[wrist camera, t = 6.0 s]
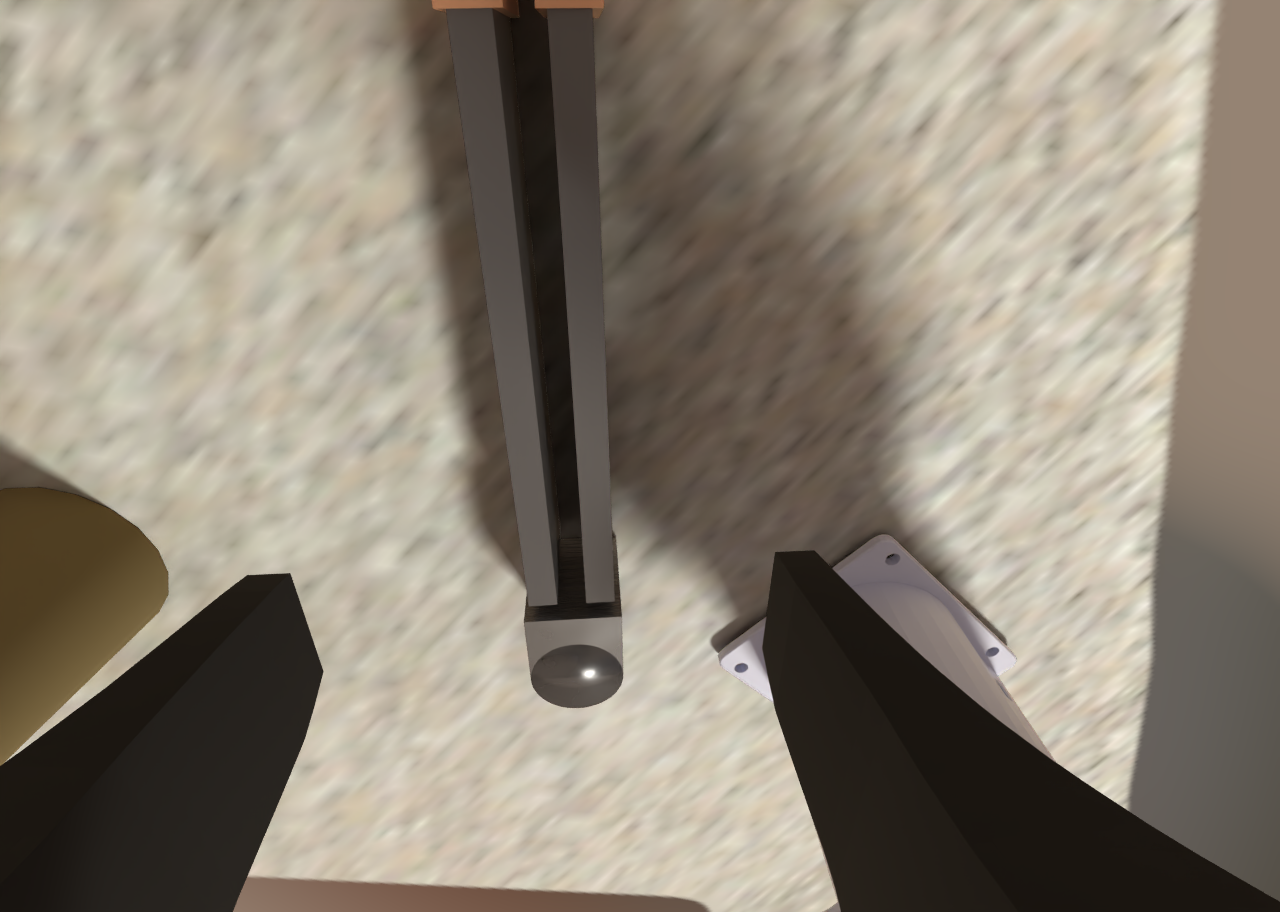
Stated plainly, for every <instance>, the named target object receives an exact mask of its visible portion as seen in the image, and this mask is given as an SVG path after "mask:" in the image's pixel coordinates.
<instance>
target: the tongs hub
mask: <svg viewBox="0 0 1280 912" xmlns="http://www.w3.org/2000/svg"><path fill="white" fill-rule="evenodd" d="M612 544H613V570H614V597H615V601H613V602H597V603H586V590H585V575H584V560H583V545H582V538H564V539H560V555H559V579H558V604H557V605H543V606H529V604H528V596H526V606H525V616H524V627H525V635H526V643H527V651H528V659H529V667H530V675H531V682H532V685H533V688H534V689H535V691H536V692H537V693H538V695H539V696H541V697H542V698H543V699H545V700H546V701H548V702H550V703H552V704H555V705H558V706H561V707H567V708H583V707H589V706H593V705H596V704H599V703H601V702H603V701H605V700H607V699H609V698H610V697H611V696H612V695H614V694H615V693H616V692H617V690H618V689H619V687H620V686H621V683H622V680H623V643H622V612H621V598H620V585H619V572H618V558H617V545H616V536H612Z"/></svg>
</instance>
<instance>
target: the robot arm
mask: <svg viewBox="0 0 1280 912" xmlns="http://www.w3.org/2000/svg"><path fill="white" fill-rule="evenodd" d="M891 554H894V555H893V556H892V557H890V558H887V557H888V556H889V555H891ZM718 658H719V663H720V666H721V667H722V668H723V669H725V670H726V671H728V672H729V673H731V674H732V675H733V676H735V677H736V678H738V679H739V680H741V681H742V682H744V683H745V684H747V685H748V686H750V687H751V688H753V689H754V690H755V691H757V692H758V693H760V694H761V695H763V696H764V697H766V698H767V699H769V700H770V701H772V702H773V703H774V706H775V711H776V714H777V717H778V720H779V723H780V726H781V729H782V732H783V735H784V738H785V741H786V743H787V746H788V749H789V752H790V755H791V758H792V761H793V764H794V767H795V770H796V773H797V776H798V779H799V781H800V784H801V787H802V790H803V793H804V796H805V799H806V802H807V805H808V807H809V810H810V813H811V816H812V819H813V822H814V825H815V829H816V832H817V835H818V838H819V842H820V845H821V848H822V852H823V855H824V858H825V861H826V865H827V868H828V871H829V874H830V878H831V881H832V884H833V888H834V891H835V894H836V897H837V901H838V902H837V903H836V904H835V905H833V906H832V907H831V908H829V909H827V910H825V911H823V912H1280V902H1279V901H1278V900H1276V899H1274V898H1272V897H1270V896H1269V895H1267V894H1265V893H1264V892H1262V891H1260V890H1258V889H1257V888H1255V887H1253V886H1251V885H1250V884H1248V883H1246V882H1244V881H1243V880H1241V879H1239V878H1237V877H1236V876H1234V875H1232V874H1231V873H1229V872H1227V871H1226V870H1224V869H1222V868H1220V867H1219V866H1217V865H1215V864H1214V863H1212V862H1210V861H1208V860H1207V859H1205V858H1203V857H1201V856H1200V855H1198V854H1196V853H1195V852H1193V851H1191V850H1190V849H1188V848H1186V847H1184V846H1183V845H1182V844H1180V843H1178V842H1177V841H1175V840H1173V839H1172V838H1170V837H1169V836H1167V835H1165V834H1164V833H1162V832H1160V831H1159V830H1157V829H1155V828H1154V827H1152V826H1151V825H1149V824H1147V823H1146V822H1144V821H1143V820H1141V819H1140V818H1138V817H1137V816H1135V815H1133V814H1132V813H1131V812H1129V811H1127V810H1126V809H1124V808H1123V807H1121V806H1120V805H1118V804H1117V803H1115V802H1114V801H1112V800H1111V799H1109V798H1108V797H1106V796H1105V795H1103V794H1102V793H1100V792H1098V791H1097V790H1095V789H1094V788H1092V787H1091V786H1089V785H1088V784H1086V783H1085V782H1083V781H1082V780H1080V779H1079V778H1078V777H1076V776H1075V775H1073V774H1072V773H1070V772H1069V771H1067V770H1066V769H1065V768H1063V767H1062V766H1060V765H1059V764H1057V763H1056V762H1055V760H1054V759H1053V757H1052V756H1051V754H1050V753H1049V751H1048V750H1047V748H1046V747H1045V745H1044V744H1043V742H1042V741H1041V739H1040V738H1039V736H1038V735H1037V733H1036V732H1035V730H1034V729H1033V727H1032V726H1031V724H1030V723H1029V722H1028V720H1027V719H1026V717H1025V716H1024V714H1023V713H1022V711H1021V710H1020V708H1019V707H1018V705H1017V704H1016V702H1015V701H1014V699H1013V698H1012V696H1011V695H1010V693H1009V692H1008V690H1007V689H1006V687H1005V686H1004V684H1003V683H1002V681H1001V680H1000V679H999V677H998V676H999V675H1001V674H1003V673H1004V672H1006V671H1007V670H1009V669H1011V668H1012V667H1013V666H1014V665H1015V663H1016V660H1017V658H1016V656H1015V655H1014V653H1013V652H1012V651H1011V650H1010V649H1009V648H1008V647H1007V646H1006V645H1005V644H1004V643H1003V642H1002V641H1001V640H1000V639H999V638H998V637H997V636H996V635H995V634H994V633H993V632H992V631H991V630H989V629H988V628H987V627H986V626H985V625H984V624H983V623H982V622H981V621H980V620H979V619H978V618H977V617H976V616H975V615H974V614H973V613H972V612H971V611H970V610H968V609H967V608H966V607H965V606H964V605H963V604H962V603H961V602H960V601H959V600H958V599H957V598H956V597H955V596H954V595H953V594H952V593H951V592H950V591H949V590H947V589H946V588H945V587H944V586H943V585H942V584H941V583H940V582H939V581H938V580H937V579H936V578H935V577H934V576H933V575H932V574H931V573H930V572H929V571H928V570H927V569H925V568H924V567H923V566H922V565H921V564H920V563H919V562H918V561H917V560H916V559H915V558H914V557H913V556H912V555H911V554H910V553H909V552H908V551H907V550H906V549H904V548H903V547H902V546H901V545H900V544H899V543H898V542H897V541H896V540H895V539H894V538H893V537H891V536H890V535H885V534H882V535H878V536H876V537H874V538H872V539H871V540H869V541H868V542H867V543H865V544H864V545H863V546H861V547H860V548H859V549H857V550H856V551H855V552H853V553H852V554H850V555H849V556H848V557H846V558H845V559H844V560H842V561H841V562H840V563H838V564H837V565H836V566H834V567H833V568H831V567H830V566H829V565H828V564H827V563H826V562H825V561H824V560H823V559H822V558H821V557H820V556H819V555H818V554H817V553H816V552H815V551H791V552H775V557H774V564H773V571H772V579H771V586H770V593H769V601H768V608H767V615H766V617H765V618H764V619H762V620H761V621H760V622H758V623H757V624H755V625H754V626H753V627H751V628H750V629H749V630H747V631H746V632H745V633H743V634H742V635H741V636H739V637H738V638H736V639H735V640H734V641H732V642H731V643H730V644H728V645H727V646H726V647H724V648H723V649H722V650H721V651H720V652H719V654H718ZM740 663H743V664H741V665H737V664H740ZM322 675H323V669H322V666H321V663H320V660H319V657H318V654H317V651H316V648H315V645H314V642H313V639H312V636H311V633H310V630H309V627H308V624H307V621H306V618H305V615H304V612H303V610H302V607H301V604H300V601H299V598H298V595H297V592H296V589H295V586H294V583H293V580H292V577H291V574H290V573H286V574H264V575H247V576H246V577H244V578H243V579H242V580H240V581H239V582H237V583H236V584H235V585H233V586H232V587H231V588H230V589H228V590H227V591H226V592H224V593H223V594H222V595H221V596H219V597H218V598H217V599H216V600H214V601H213V602H212V603H211V604H209V605H208V606H207V607H206V608H204V609H203V610H202V611H201V612H199V613H198V614H197V615H196V616H195V617H193V618H192V619H191V620H190V621H188V622H187V623H186V624H185V625H183V626H182V627H181V628H180V629H179V630H177V631H176V632H175V633H174V634H172V635H171V636H170V637H169V638H168V639H166V640H165V641H164V642H163V643H161V644H160V645H159V646H158V647H156V648H155V649H154V650H153V651H151V652H150V653H149V654H148V655H146V656H145V657H144V658H143V659H141V660H140V661H139V662H138V663H136V664H135V665H134V666H133V667H131V668H130V669H129V670H128V671H126V672H125V673H124V674H123V675H121V676H120V677H119V678H118V679H116V680H115V681H114V682H113V683H111V684H110V685H109V686H107V687H106V688H105V689H104V690H102V691H101V692H100V693H98V694H97V695H96V696H94V697H93V698H92V699H90V700H89V701H88V702H86V703H85V704H84V705H82V706H81V707H80V708H78V709H77V710H76V711H74V712H73V713H72V714H70V715H69V716H68V717H66V718H65V719H63V720H62V721H61V722H59V723H58V724H57V725H55V726H54V727H53V728H51V729H50V730H49V731H47V732H46V733H45V734H43V735H42V736H41V737H39V738H38V739H37V740H35V741H34V742H33V743H31V744H30V745H29V746H27V747H26V748H25V749H23V750H22V751H21V752H19V753H18V754H16V755H15V756H14V757H12V758H11V759H9V760H8V761H7V762H5V763H4V764H2V765H1V766H0V912H233V910H234V907H235V905H236V902H237V899H238V897H239V895H240V892H241V890H242V888H243V885H244V883H245V880H246V878H247V876H248V873H249V871H250V869H251V866H252V864H253V862H254V859H255V857H256V855H257V852H258V850H259V847H260V845H261V843H262V840H263V838H264V836H265V833H266V831H267V829H268V826H269V824H270V822H271V819H272V817H273V814H274V812H275V810H276V807H277V805H278V803H279V800H280V798H281V796H282V793H283V791H284V788H285V786H286V784H287V781H288V779H289V776H290V774H291V772H292V769H293V767H294V764H295V762H296V759H297V757H298V755H299V752H300V750H301V747H302V745H303V742H304V740H305V737H306V733H307V730H308V727H309V723H310V720H311V716H312V713H313V709H314V706H315V702H316V698H317V694H318V690H319V687H320V683H321V679H322Z"/></svg>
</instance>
